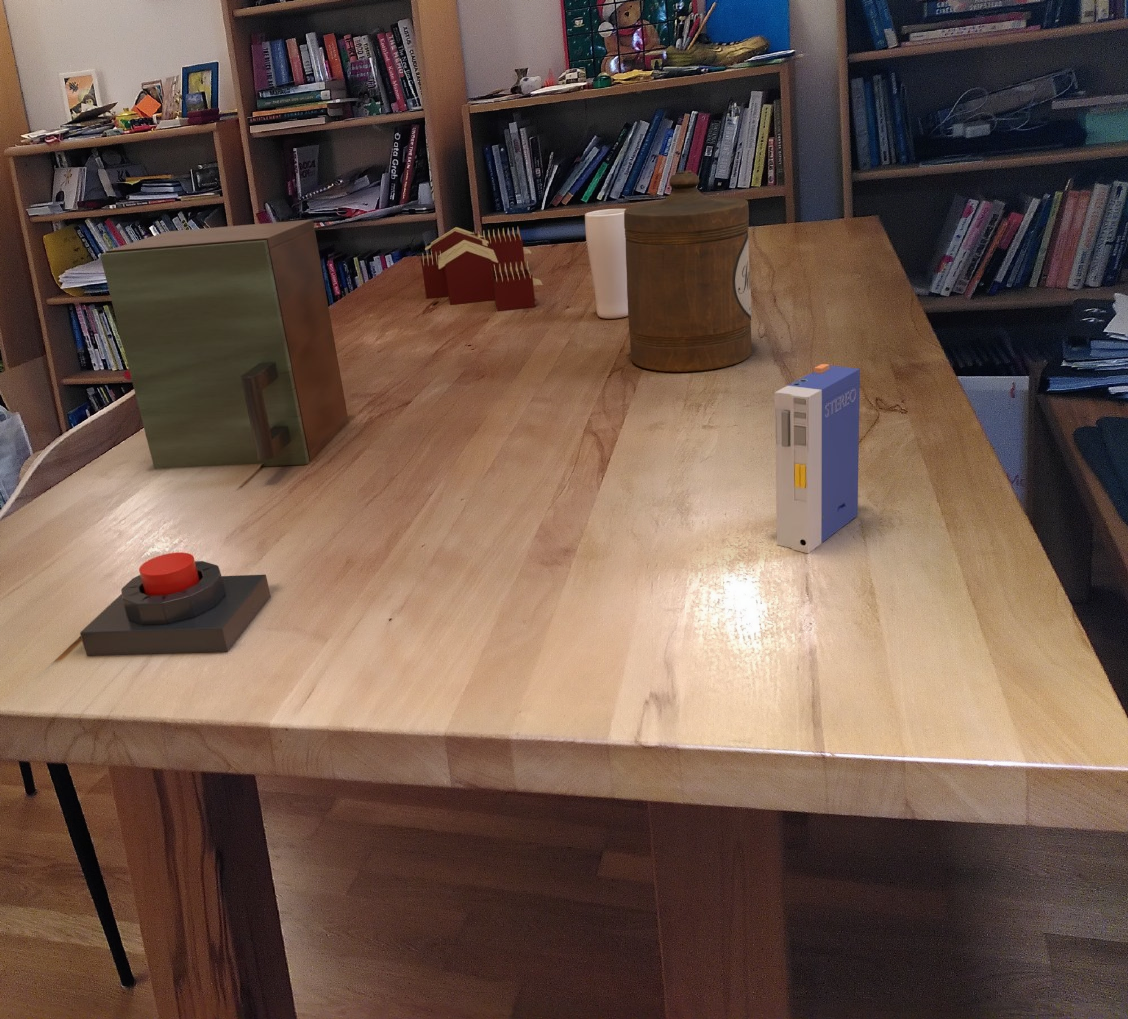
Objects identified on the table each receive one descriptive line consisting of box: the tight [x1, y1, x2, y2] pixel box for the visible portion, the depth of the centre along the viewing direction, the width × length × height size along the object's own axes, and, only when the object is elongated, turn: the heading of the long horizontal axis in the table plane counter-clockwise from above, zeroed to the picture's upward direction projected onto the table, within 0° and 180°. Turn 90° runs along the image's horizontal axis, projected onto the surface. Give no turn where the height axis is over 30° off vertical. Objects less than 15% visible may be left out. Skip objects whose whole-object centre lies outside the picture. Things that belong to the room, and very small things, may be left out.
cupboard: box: [104, 219, 350, 463], centre depth 107 cm, size 13×16×22 cm
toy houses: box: [419, 226, 544, 312], centre depth 184 cm, size 45×20×10 cm, turn 7°
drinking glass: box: [584, 208, 628, 320], centre depth 152 cm, size 7×7×15 cm
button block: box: [79, 560, 272, 657], centre depth 72 cm, size 10×8×4 cm
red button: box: [138, 551, 199, 596], centre depth 72 cm, size 4×4×2 cm
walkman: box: [774, 363, 861, 554], centre depth 76 cm, size 8×3×12 cm, turn 139°
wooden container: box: [624, 170, 752, 373], centre depth 125 cm, size 15×15×22 cm
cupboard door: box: [99, 240, 311, 470], centre depth 98 cm, size 6×16×22 cm, turn 84°
